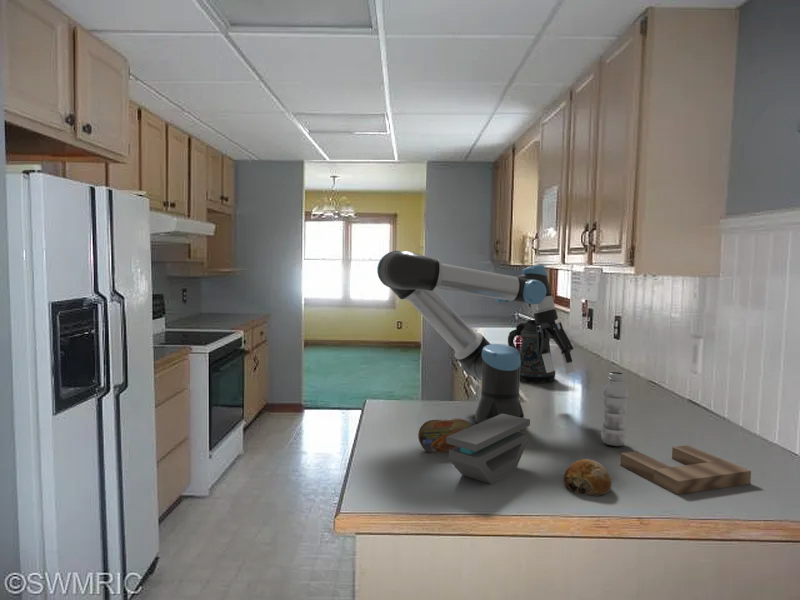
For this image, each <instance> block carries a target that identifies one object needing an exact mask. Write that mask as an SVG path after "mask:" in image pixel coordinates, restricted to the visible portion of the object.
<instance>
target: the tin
mask: <svg viewBox="0 0 800 600" xmlns="http://www.w3.org/2000/svg"><path fill="white" fill-rule="evenodd" d="M471 426H473V425H472V424H471V422H469V421H467V420H465V419H463V418H444V419H430V420H428V421H425V422H424V423H423V424H422V425H421V426H420V428H419V431H418V432H417V433H418V434H417V435H418V441H419V444H420V446H421V447H422V448H423V450H424V451H426V452H428V453H431V454H437V453H436V452H442V453H449V450H450V449H452V448H454V447H456V446H454V445H450V444H447V443H446V437H447V436H449V435H451V434H454V433H456V432H459V431H461V430H464V429H466V428H468V427H471ZM432 452H433V453H432Z"/></svg>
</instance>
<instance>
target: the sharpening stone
mask: <svg viewBox="0 0 800 600" xmlns="http://www.w3.org/2000/svg"><path fill="white" fill-rule="evenodd" d="M530 425H531V418H525V417H524V418H521V417H516V416H512V415H507V414H500V415H497V416H495V417H493V418H490V419H488V420H485V421H483V422H480V423H476V424H473V425H472V426H471V427H468V428H466V429H464V430H461V431H459V432H456V433H454V434H451V435H449V436H447V437H446V443H447V444H450V445H454V446H456V447H454V448H452V449H450V450H449V452H448V460H449V461H450V462H451V464H452V465H453V466H454V467H455V468H456V470H457V471H458V472H459V473H460V474H461V476H463V477H467V478H471V479H473V480H477V481H480V482H484V483H485V484H490V485H492V484H494V483H496V482H498V481H499V480H501V479H502V478H504V477H506V476H508V475H509V474H511V473H513V472H515V471H516V470H517V468H518V466H519V463H520V461H521V459H522V456H523V453H524V451H525V448H526V446H527V444H528V433H526V432H522V431H521V430H523V429H526V428H528V427H530Z"/></svg>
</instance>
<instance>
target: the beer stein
mask: <svg viewBox="0 0 800 600" xmlns="http://www.w3.org/2000/svg"><path fill="white" fill-rule="evenodd" d="M536 326H540V324H536V322H535V319H528V320H527V322H524V323H519V324H517V325H516V327H515V329H513V330H511V331H509V333H508V336H507V346H511V347H514V348H515V349H517V347H516V345H515V343H514V340H515V338H516V337H519V336H521V337H522V339H521V345H520V351H519V353H520V360H521V365H520V380H521V381H520V382H524V381H526V382H525V383H529V382H533V383H532V384H549V382H550V383H552V382H554V381H555V377H556V370H555V369H554V371H552V372H549V373H547V372H546V368H545V365H544V361H543V357H542V354H541V353H540V352H538V351H537V331H536ZM550 345H551V343H549V349H548V350H549V351H550V352H548V353H550V355H551V346H550ZM551 356H552V355H551Z"/></svg>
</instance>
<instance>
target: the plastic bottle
mask: <svg viewBox="0 0 800 600" xmlns="http://www.w3.org/2000/svg"><path fill="white" fill-rule="evenodd" d="M607 379H608V382H607V383H606V384H605V385H604V387H603V389H602V391H601V392H602V401H603V421H602V427H601V430H600V437H601V441H602V443H604V444H605V445H607V446H608V445H609V446H612V447H622V446H625V444H626V443H627V439H628V434H627V429H626V428H627V427H626V411H627V404H628V399H629V398H628V397H629V391H628V388H627V387H626V385H625V384H624V381H625V378H624V372H619V371H609V373H608V377H607Z"/></svg>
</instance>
